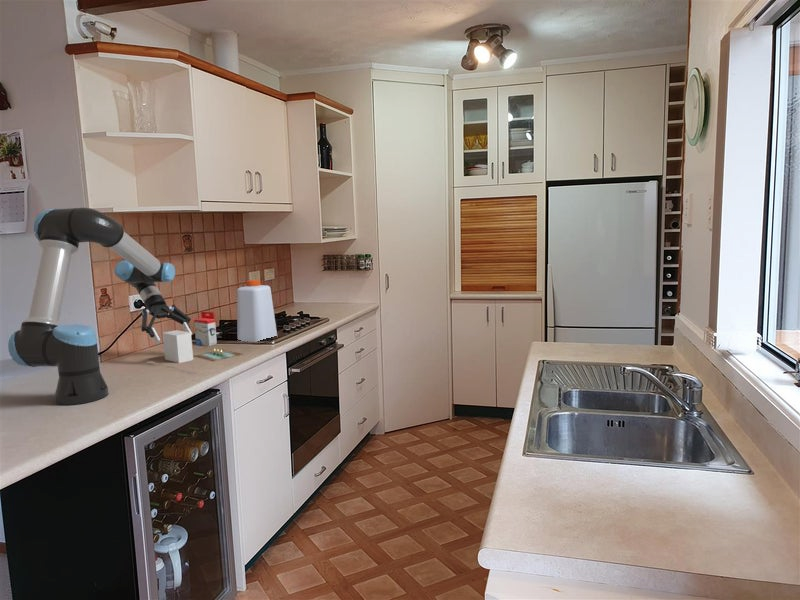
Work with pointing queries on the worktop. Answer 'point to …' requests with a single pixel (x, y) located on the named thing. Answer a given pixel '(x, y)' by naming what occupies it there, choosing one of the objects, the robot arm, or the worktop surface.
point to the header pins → (217, 352)
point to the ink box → (205, 329)
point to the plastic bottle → (255, 312)
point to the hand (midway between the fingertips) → (175, 339)
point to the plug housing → (178, 346)
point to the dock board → (216, 357)
